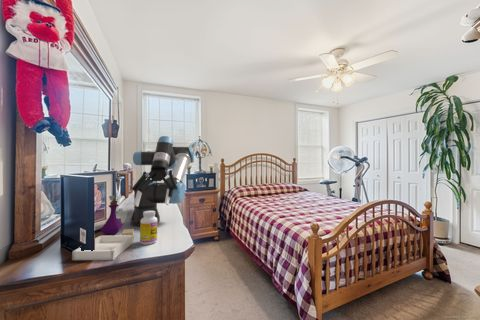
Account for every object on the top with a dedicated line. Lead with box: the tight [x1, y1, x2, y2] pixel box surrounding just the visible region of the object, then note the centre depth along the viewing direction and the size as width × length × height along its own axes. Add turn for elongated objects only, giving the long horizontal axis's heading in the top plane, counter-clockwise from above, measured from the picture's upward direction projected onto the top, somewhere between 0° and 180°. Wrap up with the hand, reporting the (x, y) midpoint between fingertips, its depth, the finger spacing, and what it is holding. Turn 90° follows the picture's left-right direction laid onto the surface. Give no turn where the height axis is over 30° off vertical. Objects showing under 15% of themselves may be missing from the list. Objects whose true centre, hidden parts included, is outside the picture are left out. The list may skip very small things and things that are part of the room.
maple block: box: [121, 228, 135, 236], centre depth 91 cm, size 4×4×4 cm
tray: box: [71, 234, 135, 261], centre depth 80 cm, size 16×14×3 cm
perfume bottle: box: [100, 195, 124, 236], centre depth 98 cm, size 8×8×18 cm
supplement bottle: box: [139, 211, 158, 246], centre depth 88 cm, size 7×7×13 cm
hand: (151, 204), depth 90 cm, fingers open, 13 cm apart
